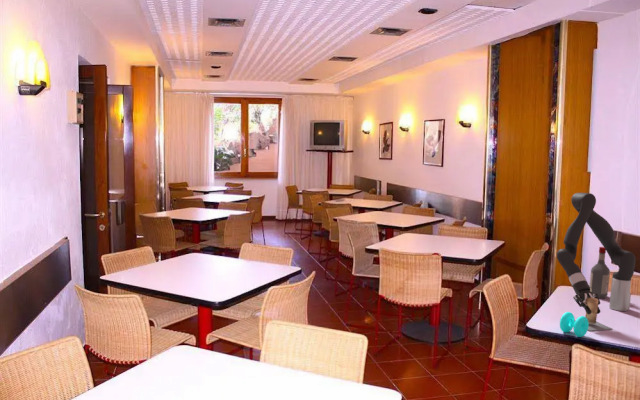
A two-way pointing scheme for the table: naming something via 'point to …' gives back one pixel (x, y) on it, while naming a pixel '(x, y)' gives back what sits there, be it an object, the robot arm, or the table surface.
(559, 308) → the table surface
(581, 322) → the turquoise spool
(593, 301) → the oak roller
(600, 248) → the liquor
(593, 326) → the slate pad
